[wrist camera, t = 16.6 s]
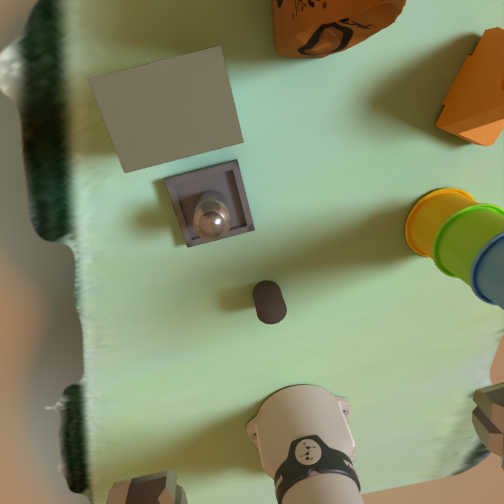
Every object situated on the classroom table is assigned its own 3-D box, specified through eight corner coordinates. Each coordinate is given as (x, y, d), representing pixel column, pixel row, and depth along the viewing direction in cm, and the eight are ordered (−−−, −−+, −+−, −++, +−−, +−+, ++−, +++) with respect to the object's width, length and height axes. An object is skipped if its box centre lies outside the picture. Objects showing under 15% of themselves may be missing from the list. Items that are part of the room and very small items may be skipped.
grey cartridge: (222, 186, 43) (225, 203, 36) (231, 216, 44) (234, 237, 38) (191, 194, 43) (187, 213, 36) (201, 223, 44) (199, 247, 38)
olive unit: (234, 131, 41) (244, 146, 28) (152, 152, 41) (125, 176, 28) (216, 57, 38) (219, 37, 25) (127, 80, 38) (84, 72, 25)
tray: (253, 226, 46) (254, 230, 45) (188, 243, 46) (187, 247, 45) (236, 159, 42) (237, 161, 41) (165, 177, 42) (164, 180, 41)
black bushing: (282, 300, 51) (289, 320, 47) (256, 307, 51) (260, 327, 47) (277, 277, 50) (283, 295, 45) (250, 284, 50) (253, 303, 45)
